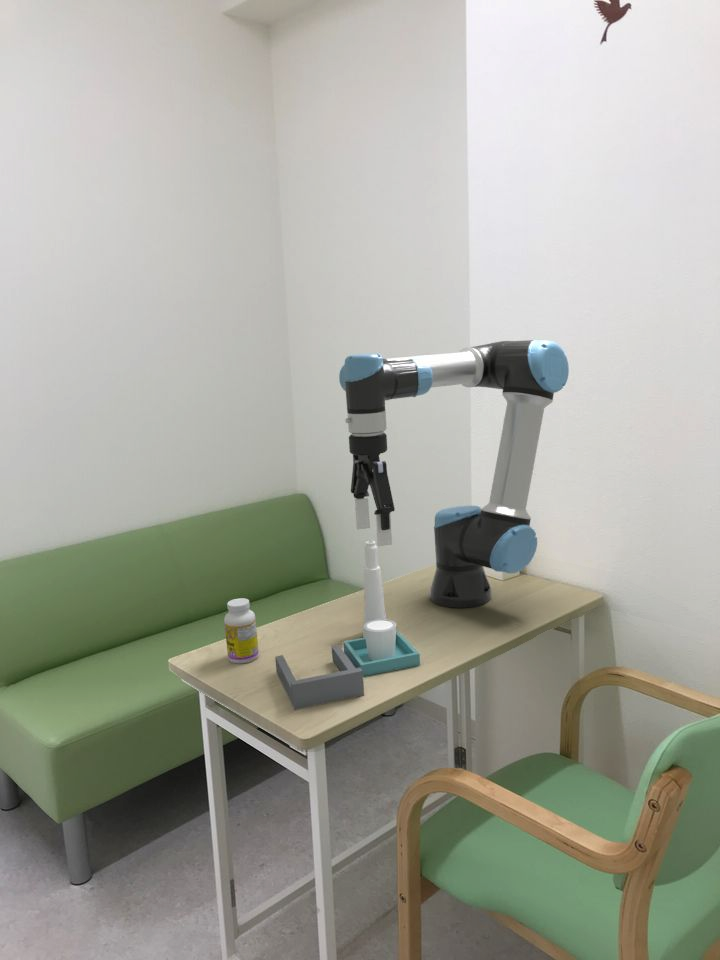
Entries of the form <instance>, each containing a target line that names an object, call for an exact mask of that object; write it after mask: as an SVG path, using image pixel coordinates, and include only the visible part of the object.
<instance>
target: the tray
mask: <svg viewBox="0 0 720 960" xmlns="http://www.w3.org/2000/svg"><path fill="white" fill-rule="evenodd" d="M342 643H343V651H344V653H345V654H346V655H347V657H348V658H349V659H350V661H351V662H352V664H353V665H354V666H355V668H361V669H362V671H363V677H368V676H373V675H377V674H382V673H387V672H393V671H397V670H398V671H399V670H402V669H407V668H412V667H417V666H420V665H421V660H420V659H421V658H420V657H421V656H420V654H421V653H419V651H417V649H416V648H415V647H414V646H413V645H412V644H411V643H410V642H409V641H408V640H407V638H405V637H404V636H403V635H402V633H401V632H399V631H398V630H396V643H395V657H391V658H386V659H381V660H376V661H372V660H370V659H369V657H368V651H367V645H366V639H365V638H364V637H360V638H355V639H350V640H345V641H343V642H342Z"/></svg>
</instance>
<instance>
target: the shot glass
mask: <svg viewBox="0 0 720 960" xmlns="http://www.w3.org/2000/svg"><path fill="white" fill-rule="evenodd" d="M363 629H364V632H365V639H366V645H367V651H368V657H369V659H370V660H372V661H376V660H381V659H386V658H391V657H395V643H396V632H397V623H396V622H395V621H394V620H392V619H387V618H386V619H377V620H372V621H369V622H367V623H365V624H364V623H363Z"/></svg>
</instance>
